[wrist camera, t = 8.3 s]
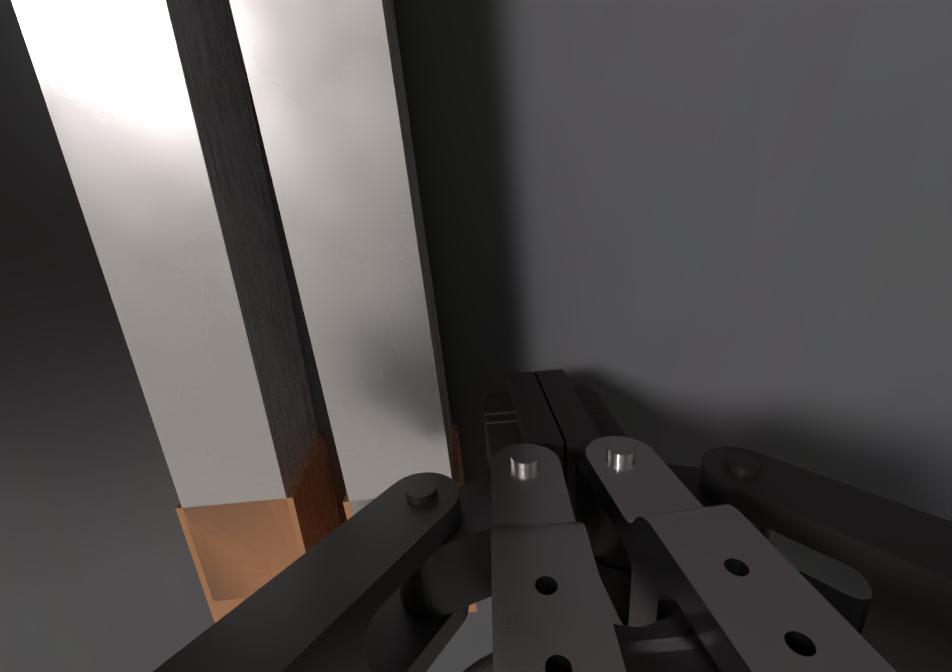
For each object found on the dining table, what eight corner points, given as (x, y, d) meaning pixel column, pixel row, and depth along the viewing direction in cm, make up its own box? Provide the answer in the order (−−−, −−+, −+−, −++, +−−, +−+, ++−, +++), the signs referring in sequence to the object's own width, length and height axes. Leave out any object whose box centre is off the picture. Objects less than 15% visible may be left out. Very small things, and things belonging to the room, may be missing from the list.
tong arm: (219, -241, 9) (113, -432, 6) (365, -255, 9) (326, -451, 6) (386, 541, 15) (372, 625, 12) (471, 530, 15) (477, 611, 12)
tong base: (-32, -499, 8) (-556, -1235, 4) (340, -508, 8) (228, -1217, 4) (259, 545, 15) (190, 683, 11) (449, 527, 16) (450, 655, 11)
